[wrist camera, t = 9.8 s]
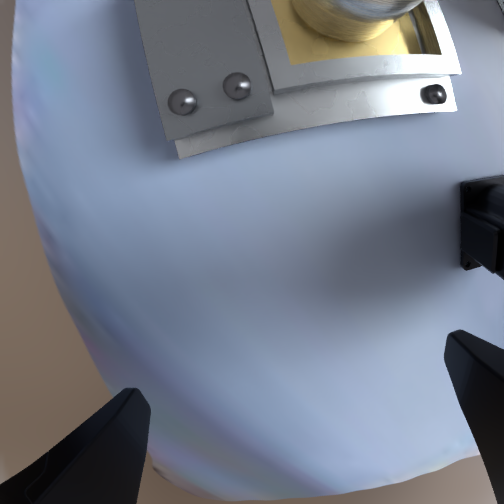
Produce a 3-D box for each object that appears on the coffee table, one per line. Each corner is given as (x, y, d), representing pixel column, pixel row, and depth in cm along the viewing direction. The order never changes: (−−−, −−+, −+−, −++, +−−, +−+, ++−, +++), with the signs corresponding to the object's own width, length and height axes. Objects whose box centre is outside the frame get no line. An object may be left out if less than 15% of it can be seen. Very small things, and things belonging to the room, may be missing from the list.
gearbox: (376, -64, 10) (396, -95, 6) (440, 111, 15) (482, 110, 11) (144, -28, 12) (116, -58, 8) (188, 156, 17) (163, 164, 13)
